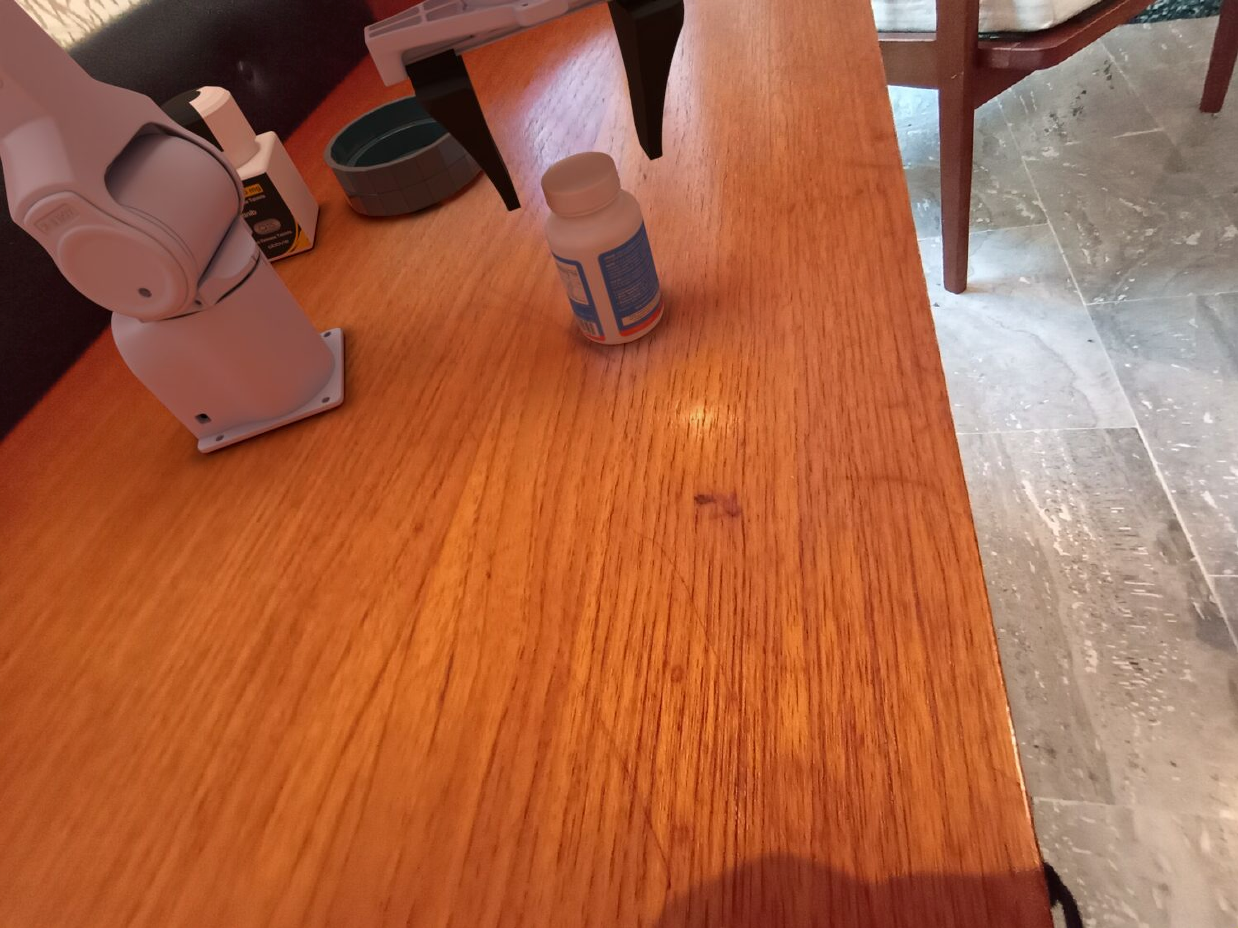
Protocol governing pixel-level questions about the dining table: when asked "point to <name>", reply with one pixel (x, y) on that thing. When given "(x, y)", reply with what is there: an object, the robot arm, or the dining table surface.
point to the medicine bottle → (253, 170)
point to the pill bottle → (601, 249)
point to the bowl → (397, 160)
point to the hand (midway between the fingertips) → (581, 176)
